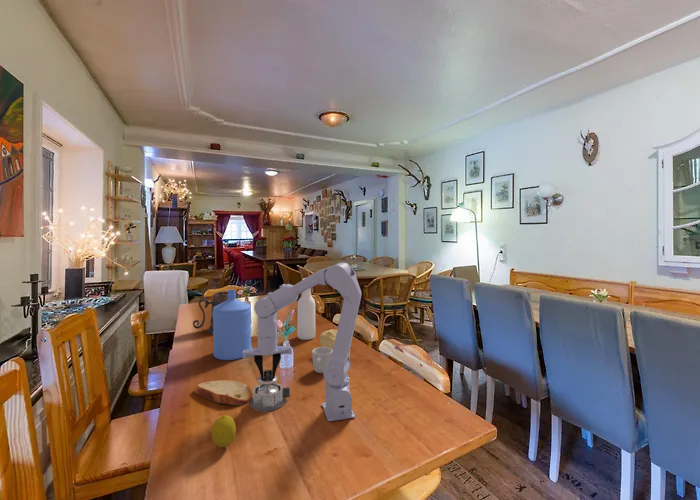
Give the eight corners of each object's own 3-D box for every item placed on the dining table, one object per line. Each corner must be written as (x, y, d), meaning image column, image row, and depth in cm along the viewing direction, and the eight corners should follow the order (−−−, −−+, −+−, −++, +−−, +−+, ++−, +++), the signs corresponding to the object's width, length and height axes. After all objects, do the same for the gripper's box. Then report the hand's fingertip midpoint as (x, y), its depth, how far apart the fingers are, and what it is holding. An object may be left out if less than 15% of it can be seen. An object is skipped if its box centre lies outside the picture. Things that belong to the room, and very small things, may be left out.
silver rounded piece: (279, 395, 99) (279, 374, 99) (256, 398, 97) (256, 376, 97) (278, 385, 106) (278, 365, 105) (257, 387, 104) (256, 367, 103)
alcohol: (296, 335, 167) (296, 277, 165) (313, 334, 169) (313, 276, 167) (298, 341, 158) (298, 280, 157) (316, 339, 161) (316, 279, 159)
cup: (327, 379, 117) (327, 358, 117) (306, 377, 119) (306, 356, 118) (335, 367, 128) (335, 347, 127) (315, 365, 129) (315, 346, 129)
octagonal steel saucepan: (290, 405, 99) (290, 393, 99) (253, 410, 96) (252, 398, 96) (288, 391, 108) (288, 380, 107) (253, 395, 105) (253, 384, 105)
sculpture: (315, 353, 142) (315, 329, 142) (337, 347, 150) (337, 324, 150) (332, 361, 134) (332, 335, 133) (353, 354, 142) (353, 330, 141)
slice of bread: (195, 387, 111) (195, 377, 111) (250, 379, 118) (250, 369, 117) (189, 416, 95) (188, 403, 94) (253, 405, 101) (253, 393, 100)
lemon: (238, 439, 83) (238, 409, 83) (231, 454, 78) (231, 421, 77) (216, 439, 83) (216, 409, 83) (208, 454, 78) (207, 422, 77)
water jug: (253, 357, 137) (252, 292, 135) (212, 363, 131) (211, 294, 130) (250, 345, 151) (249, 286, 150) (213, 350, 146) (212, 288, 144)
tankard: (237, 323, 188) (237, 289, 187) (242, 331, 173) (241, 294, 172) (192, 328, 177) (191, 292, 176) (193, 338, 162) (192, 298, 161)
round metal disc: (287, 408, 98) (287, 407, 98) (249, 414, 95) (249, 412, 95) (284, 391, 108) (284, 390, 108) (250, 395, 106) (250, 394, 106)
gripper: (290, 329, 106) (290, 370, 107) (243, 333, 102) (244, 375, 103) (292, 336, 99) (292, 379, 100) (242, 340, 96) (242, 385, 96)
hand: (267, 378), depth 101 cm, fingers open, 3 cm apart
